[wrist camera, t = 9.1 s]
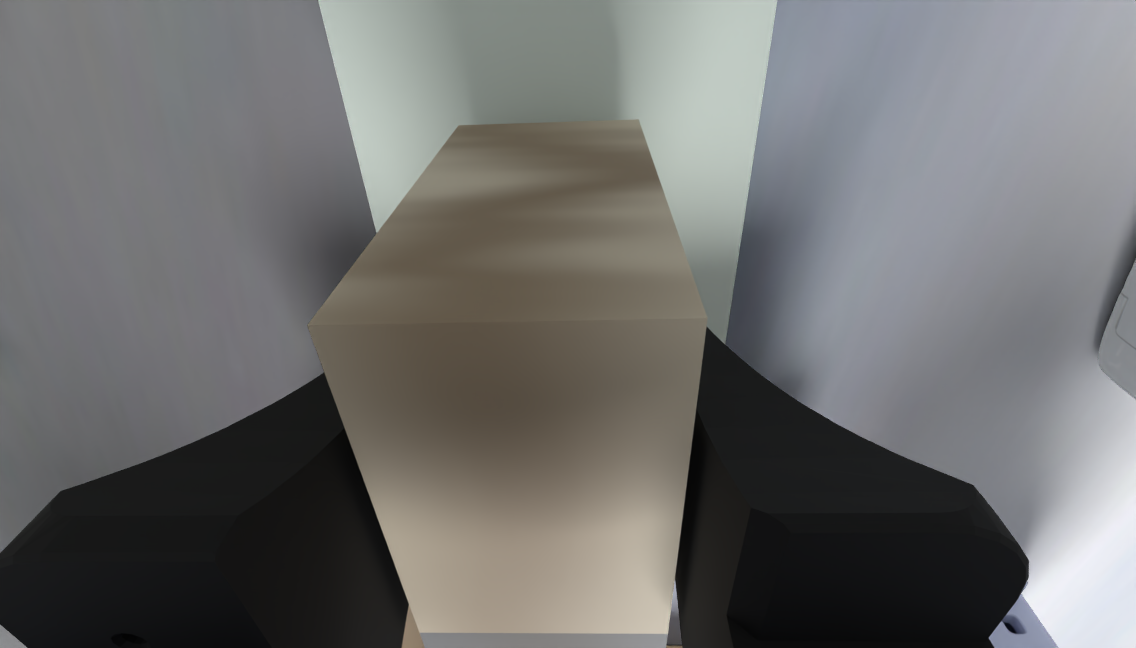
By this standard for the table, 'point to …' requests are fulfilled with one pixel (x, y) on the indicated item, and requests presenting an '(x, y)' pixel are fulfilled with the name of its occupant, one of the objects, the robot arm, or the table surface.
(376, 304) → the block
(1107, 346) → the photo printer
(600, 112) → the mat
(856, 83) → the table surface
